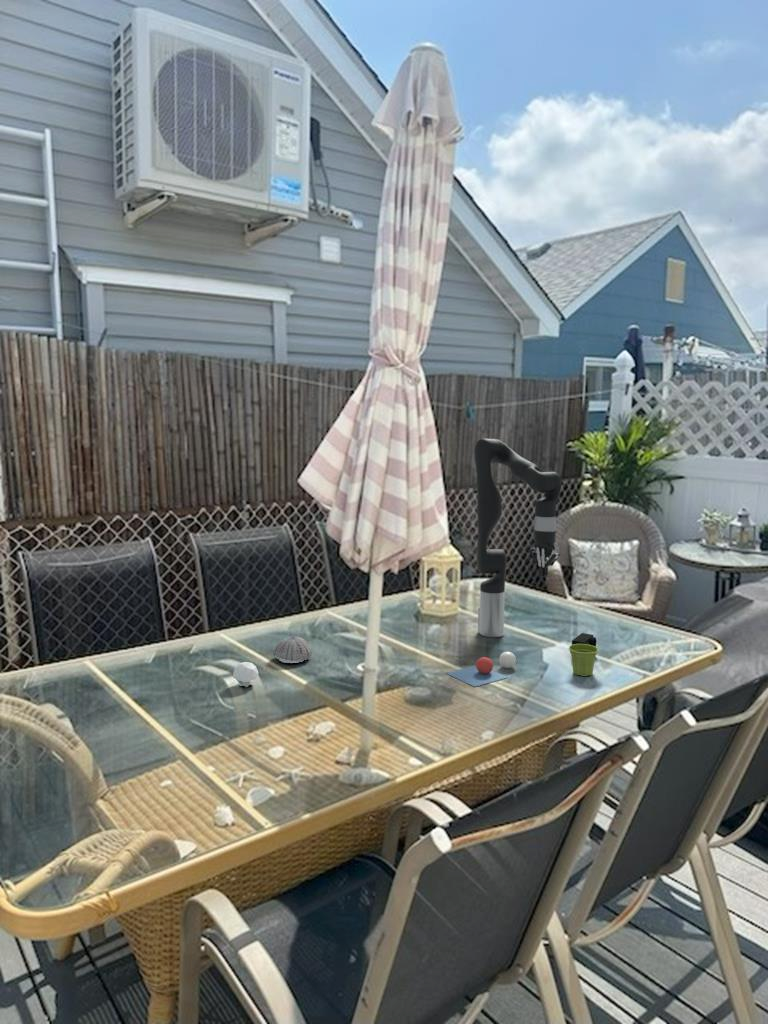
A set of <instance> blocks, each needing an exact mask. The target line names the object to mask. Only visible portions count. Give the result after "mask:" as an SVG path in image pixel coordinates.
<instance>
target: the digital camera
mask: <svg viewBox="0 0 768 1024" xmlns="http://www.w3.org/2000/svg"><path fill="white" fill-rule="evenodd" d="M573 644H587V645H592V646H595V647H597V638H596V637H595V636H594V634H592V633H585V632H581V633H580V634H579V635H577V636H576V637H575V638H573V639H572V640H571V645H573ZM570 658H572V657H571V656H570Z"/></svg>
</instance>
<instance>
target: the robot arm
mask: <svg viewBox="0 0 768 1024" xmlns="http://www.w3.org/2000/svg"><path fill="white" fill-rule="evenodd" d="M474 462H475V463H474V464H475V473H476V488H477V490H476V491H477V492H476V493H477V497H476V498H477V500H476V501H477V503H476V504H477V505H476V509H477V512H476V514H477V547H476V550H477V551H476V567H477V571H478V573H479V574H483V575H484V574H494V575H493V576H492V577H490V578H489V579H487V580H484V581H482V582H481V583H480V588H479V589H480V591H479V592H480V595H479V596H480V597H479V608H478V609H477V612H478V613H477V632H478V633H479V635H481V636H482V637H485V638H486V637H487V638H500V637H503V636H504V632H505V592H506V591H505V589H506V588H505V586H506V572H507V571H506V570H507V554H506V551H505V550H504V549H502V548H501V549H500V548H497V549H496V548H489V549H487V545H488V541H489V538H490V536H491V534H492V532H493V530H494V529H495V527H496V526H497V525H498V523H499V521H500V520H501V517H502V511H503V510H502V509H503V508H502V507H503V505H502V504H503V503H502V495H501V492H500V490H499V488H498V487H497V485H496V483H495V481H494V477H493V476H492V466H491V465H492V464H501V465H504V466H506V467H508V468H509V470H510V471H511V473H512V474H513V475H514V476H515V477H517V479H520V480H522V481H524V482H525V483H526V484H527V485H528V486H529V488H530V489H531V490H533V491H534V492H536V493H539V494H540V493H541V494H542V493H543V496H542V497H541V498H539V499H537V500H536V501H535V507H534V509H535V511H534V514H535V515H534V520H533V521H534V522H533V523H534V524H533V541H534V544H533V547H532V548H529V549H528V551H529V552H528V553H530V555H531V558H532V560H533V562H534V564H536V565H538V570H539V571H538V573H539V574H538V575H539V577H540V578H546V577H548V575H549V567H553V566H554V564H555V563H556V561H558V559H559V557H560V556H561V554H560V553H559V552H557V551H556V550H555V549H556V548H555V542H556V541H557V540H556V537H557V536H556V535H557V519H556V516H557V515H556V512H557V511H556V510H557V502H558V500H559V495H560V492H561V489H562V478H561V476H560V474H559V473H558V472H555V471H543V472H542V471H541V468H540V467H539V466H538V465H537V464H535V463H533V462H531V461H529V460H527V459H526V458H524V457H522V456H521V455H519V454H518V453H516V452H515V451H514V450H513V449H512V448H511V447H509V446H508V444H506V443H504V441H502V440H501V439H497V438H486V437H485V438H480V439H478V440H477V441H476V443H475V446H474Z"/></svg>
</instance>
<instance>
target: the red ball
mask: <svg viewBox="0 0 768 1024" xmlns="http://www.w3.org/2000/svg"><path fill="white" fill-rule="evenodd" d="M475 666H476V668H477V670H478V671H479V672H480V673H482V674H488V673H490V672H491V671H493V668H494V663H493V661H492V660H491V659H490V658H489V657H487V656H482V657H479V659H477V661H476V664H475Z"/></svg>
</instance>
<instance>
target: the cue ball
mask: <svg viewBox="0 0 768 1024" xmlns="http://www.w3.org/2000/svg"><path fill="white" fill-rule="evenodd" d="M498 661H499V664H500V665H501V666H502V667H503V668H505V669H511V668H513V667H514V666H516V663H517V659H516V656H515V654H514V653H513V652H511V651H503V652H502V653H500V655H499V659H498Z"/></svg>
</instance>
